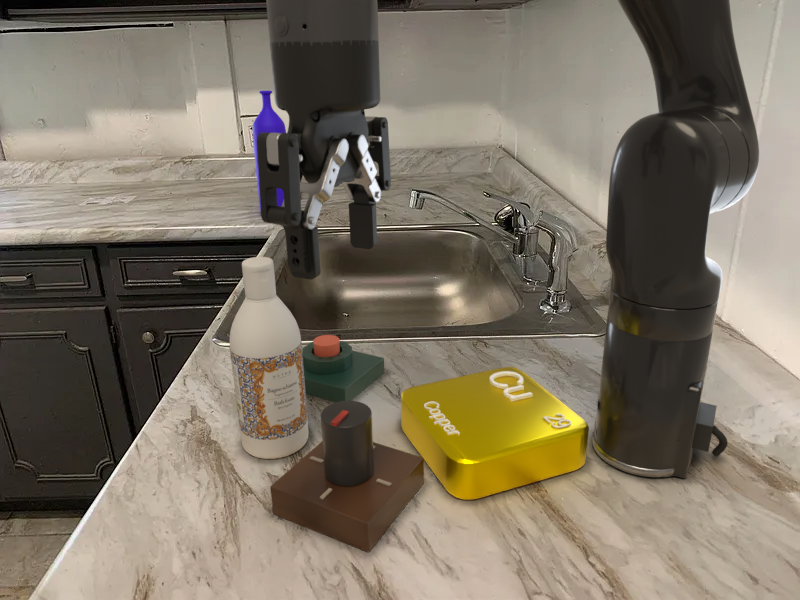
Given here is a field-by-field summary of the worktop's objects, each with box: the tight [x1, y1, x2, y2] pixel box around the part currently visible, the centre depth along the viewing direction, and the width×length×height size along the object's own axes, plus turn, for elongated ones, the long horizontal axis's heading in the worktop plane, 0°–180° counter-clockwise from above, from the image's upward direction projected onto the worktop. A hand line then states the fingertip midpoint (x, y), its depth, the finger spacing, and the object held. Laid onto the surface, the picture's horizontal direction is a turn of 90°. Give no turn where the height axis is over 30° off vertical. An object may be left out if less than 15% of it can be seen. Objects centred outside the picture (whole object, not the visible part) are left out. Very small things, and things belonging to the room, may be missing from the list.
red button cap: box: [312, 334, 341, 357], centre depth 78 cm, size 3×3×2 cm
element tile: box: [400, 366, 590, 501], centre depth 65 cm, size 15×15×5 cm
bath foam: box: [229, 256, 310, 460], centre depth 63 cm, size 7×7×20 cm
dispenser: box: [302, 340, 385, 403], centre depth 79 cm, size 11×9×4 cm
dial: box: [320, 400, 374, 486], centre depth 56 cm, size 4×4×6 cm
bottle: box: [252, 90, 287, 211], centre depth 157 cm, size 8×8×30 cm
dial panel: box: [269, 441, 425, 553], centre depth 57 cm, size 10×10×3 cm
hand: (337, 261), depth 50 cm, fingers open, 8 cm apart
